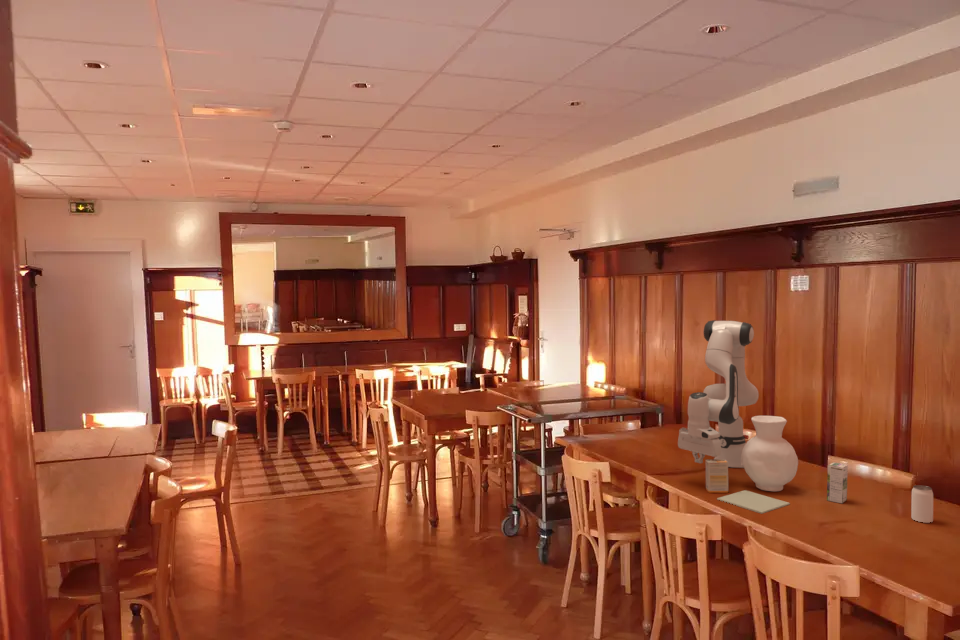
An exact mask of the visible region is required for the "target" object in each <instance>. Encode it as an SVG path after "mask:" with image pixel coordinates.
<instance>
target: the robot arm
mask: <svg viewBox="0 0 960 640" xmlns="http://www.w3.org/2000/svg"><path fill="white" fill-rule="evenodd" d="M754 337H755V330H754V327H753V325H752V324H751V323H749V322H746V321H743V322H741V321H737V320H736V321H735V320H715V319H714V320H708V321H707V322H706V323H705V324H704V327H703V338H704V340H706V342H707V345H706V346H707V347H706V349H705V355H704V363H705V365H706V366H707V368H708V369H709V370H710V371H712V372H714V373H715V374H717V375H719V376H721V377H723V378H724V380H725V383H713V384H710V385H707V386H705V388H704V389H703V392H702V391H701V392H699V391H698V392H693V393H691V394H690V395H689V397H688V401H687V415H688V420H687V428H686V427H681V428H679V430H678V439H677V447H678V449H681V450H686V451H690V452H691V453H692V456H693V458H694V463H698V464H703V463H704V461H703V460H704V458H705V456H711V457H713V459H725V460H726V461H727V462H728V468H740V469H741V468H743V469H744V466H743V463H742V457H741V454H742V450H743V448H744V445H745V444H746V443H747V441H746V440H749V439H750V436H749V435H748V434H747V435H746V434H744V420H743V418H742V417H741V416H740V409H739V407H746V406H751V405H755V404H756V403H757V402H758V400H759V398H760V397H759V396H760V393H759V390H758V388H757V387H756V386H755V384H753V383H752V382H751V381H749V379H748V377H747V373H746V368H745V367H746V366H745V365H746V364H745V360H746V348H745V347H746V346H748V345H750V344H751V343H752V342H753V339H754ZM710 422H717V425H718V426H717V427H718V430H716V429H714V428H713V427H711V426H710Z"/></svg>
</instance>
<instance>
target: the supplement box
mask: <svg viewBox="0 0 960 640" xmlns="http://www.w3.org/2000/svg"><path fill="white" fill-rule="evenodd" d="M705 490H706V491H707V493H709V494H713V493H716V494H718V493H721V494H722V493H725V494H729V467H728V462H727V461H726V460H725V459H714V458H713V459H705Z"/></svg>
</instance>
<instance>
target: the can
mask: <svg viewBox="0 0 960 640" xmlns="http://www.w3.org/2000/svg"><path fill="white" fill-rule="evenodd" d="M912 487H913V488H912V489H911V504H910V505H911V507H910V508H911V510H910V511H911V512H910V513H911V516H910V517H911V520H913V521H914V520H915V521H914V522H916V521H918V522H917V523H920V522H923V523H922V524H931V523H933V521H934V492H933V488H932V487H930V486H927V485H922V484H921V485H919V484H917V485H913V486H912ZM930 522H931V523H930Z"/></svg>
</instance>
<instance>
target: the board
mask: <svg viewBox="0 0 960 640" xmlns="http://www.w3.org/2000/svg"><path fill="white" fill-rule="evenodd" d="M716 500H717V501H719V500H720V502H723V501H724V502H723V503H726V502H727V504H729V503H730V505H732V504H733V506H735V505H736V507H738V508H739V507H740V508H742V509H746V510H749V511H751V512H755V513H758V514H766V513H768V512H771V511H774V510H777V509H780V508H783V507H786V506H790V504H791V503H790V502H788V501H784V500H780V499H778V498H774V497H772V496H771V497H770V496H766V495H764V494H760V493H757V492H753V491H750V490H747V489H745V490H741V491H737V492H734V493H731V494H726V495H723V496H720V497H717V498H716Z"/></svg>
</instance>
